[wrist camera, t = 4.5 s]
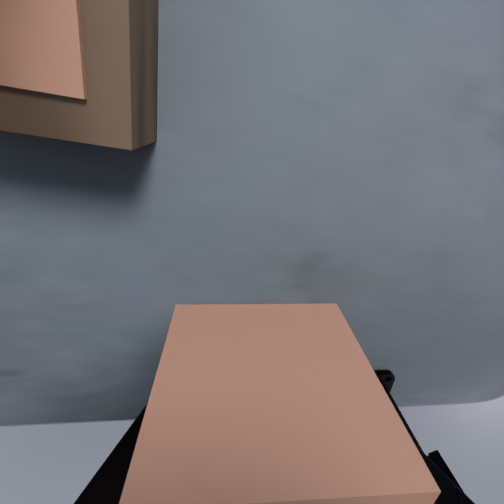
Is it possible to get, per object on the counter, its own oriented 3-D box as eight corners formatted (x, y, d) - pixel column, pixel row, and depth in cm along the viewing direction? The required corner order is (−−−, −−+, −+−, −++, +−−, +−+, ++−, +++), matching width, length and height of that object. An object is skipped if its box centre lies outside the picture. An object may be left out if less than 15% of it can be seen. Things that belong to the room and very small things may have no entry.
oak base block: (161, -91, 10) (121, -207, 7) (157, 140, 14) (130, 151, 10) (-87, -155, 9) (-300, -334, 6) (-25, 112, 13) (-133, 111, 9)
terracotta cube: (336, 303, 9) (440, 491, 5) (315, 407, 11) (371, 604, 7) (175, 304, 9) (116, 511, 4) (185, 412, 11) (153, 625, 6)
